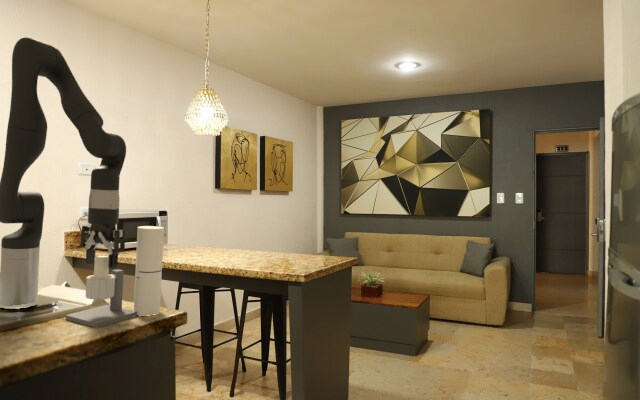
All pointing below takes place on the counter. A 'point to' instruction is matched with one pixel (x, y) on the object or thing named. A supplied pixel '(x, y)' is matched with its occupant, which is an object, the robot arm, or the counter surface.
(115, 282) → the cup bracket
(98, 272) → the dowel
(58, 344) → the counter surface
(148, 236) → the cylindrical container
